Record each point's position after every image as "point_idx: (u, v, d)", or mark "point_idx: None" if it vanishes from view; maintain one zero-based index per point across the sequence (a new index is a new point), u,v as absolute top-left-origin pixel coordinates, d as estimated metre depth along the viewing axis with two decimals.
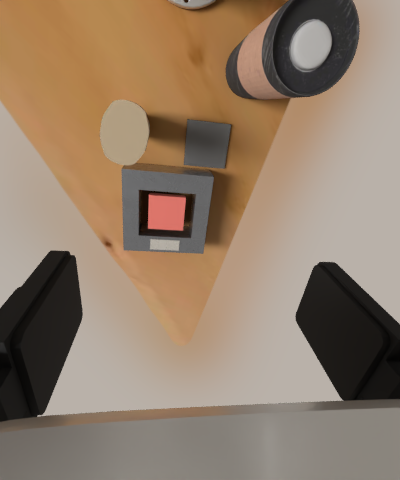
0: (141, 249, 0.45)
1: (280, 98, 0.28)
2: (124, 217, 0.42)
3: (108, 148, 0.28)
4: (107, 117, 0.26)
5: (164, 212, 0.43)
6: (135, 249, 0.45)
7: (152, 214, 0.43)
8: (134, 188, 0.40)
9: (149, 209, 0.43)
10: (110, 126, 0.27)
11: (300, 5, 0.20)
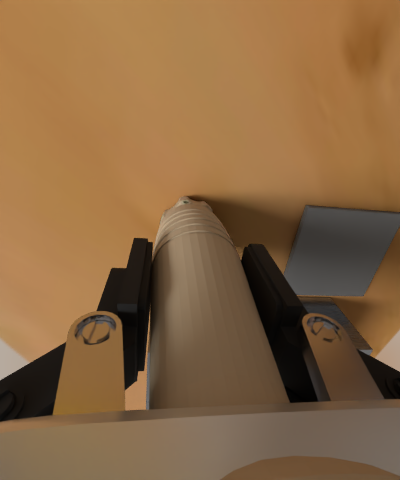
0: None
1: None
2: None
3: None
4: None
5: None
6: None
7: None
8: None
9: None
10: None
11: None
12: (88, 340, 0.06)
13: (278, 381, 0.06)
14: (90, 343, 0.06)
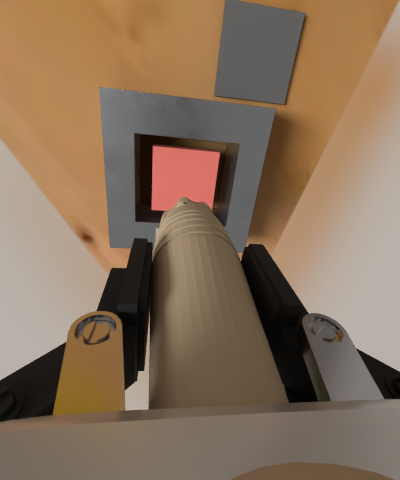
0: None
1: None
2: (109, 188, 0.23)
3: None
4: None
5: (180, 180, 0.24)
6: (131, 246, 0.26)
7: (159, 183, 0.24)
8: (125, 130, 0.21)
9: (154, 174, 0.24)
10: None
11: None
12: (88, 340, 0.06)
13: (278, 384, 0.06)
14: (90, 343, 0.06)
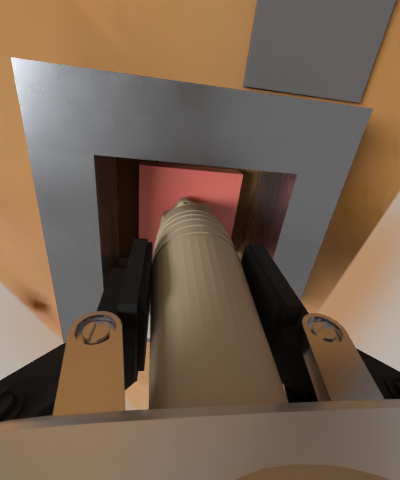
0: None
1: None
2: (52, 253, 0.12)
3: None
4: None
5: None
6: None
7: (150, 220, 0.16)
8: (76, 149, 0.10)
9: (141, 207, 0.15)
10: None
11: None
12: (88, 340, 0.06)
13: (278, 384, 0.06)
14: (90, 343, 0.06)
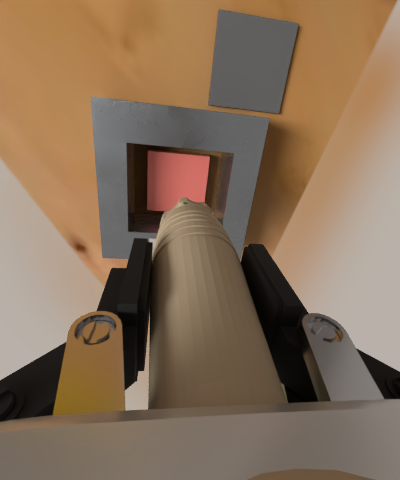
0: None
1: None
2: (101, 198, 0.23)
3: None
4: None
5: (174, 182, 0.26)
6: (124, 257, 0.26)
7: (154, 185, 0.26)
8: (118, 139, 0.21)
9: (149, 177, 0.26)
10: None
11: None
12: (88, 340, 0.06)
13: (277, 385, 0.06)
14: (90, 343, 0.06)
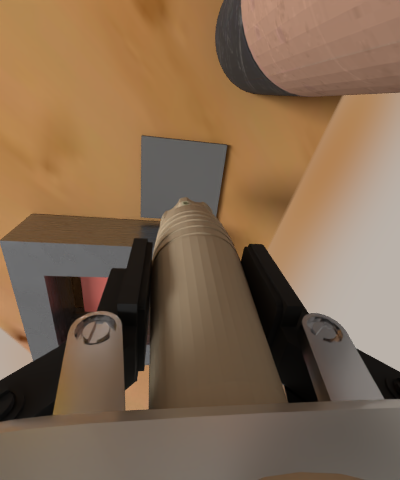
0: None
1: (391, 92, 0.08)
2: (25, 320, 0.22)
3: None
4: None
5: None
6: None
7: (89, 291, 0.26)
8: (34, 273, 0.20)
9: (83, 284, 0.25)
10: None
11: None
12: (88, 340, 0.06)
13: (278, 386, 0.06)
14: (90, 343, 0.06)
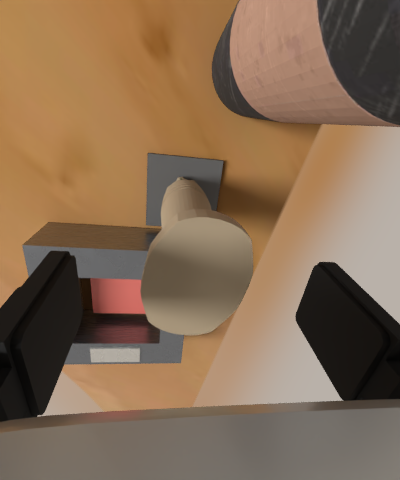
0: (77, 362, 0.27)
1: (342, 124, 0.11)
2: None
3: (157, 310, 0.12)
4: (162, 254, 0.11)
5: (116, 290, 0.28)
6: (67, 363, 0.27)
7: (98, 293, 0.28)
8: None
9: (92, 287, 0.27)
10: (166, 270, 0.11)
11: None
12: None
13: None
14: None
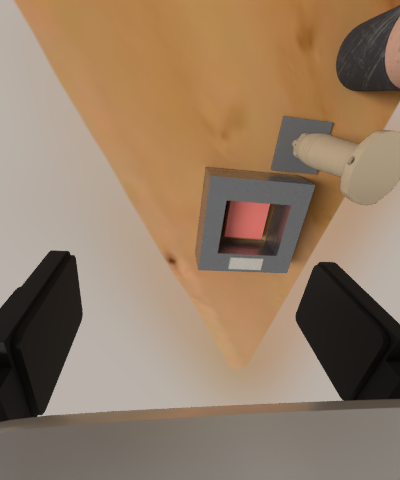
0: (218, 269, 0.38)
1: None
2: (204, 232, 0.35)
3: (354, 186, 0.23)
4: (369, 152, 0.22)
5: (244, 219, 0.39)
6: (212, 269, 0.38)
7: (231, 221, 0.39)
8: (221, 199, 0.33)
9: (229, 215, 0.38)
10: (367, 161, 0.22)
11: None
12: None
13: None
14: None
